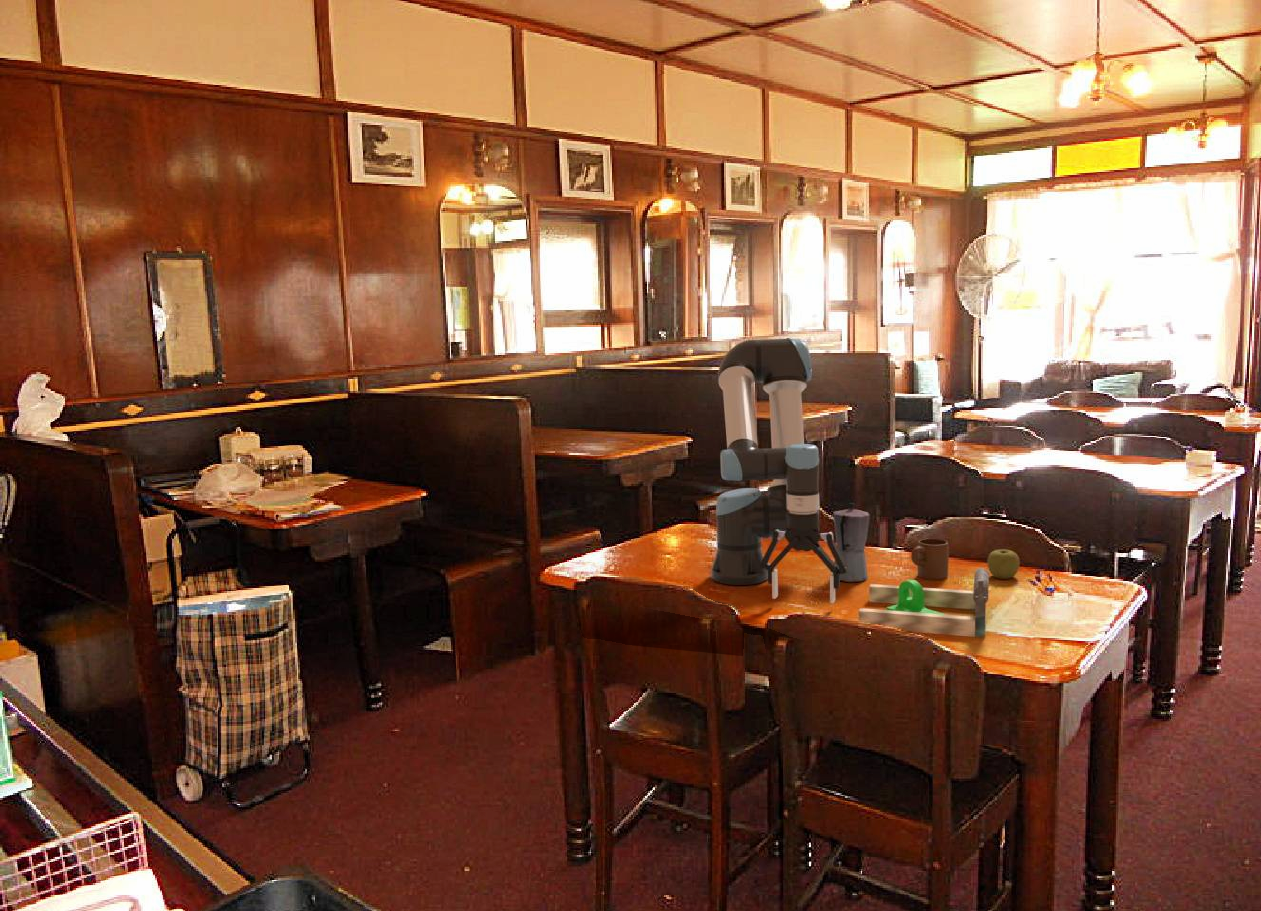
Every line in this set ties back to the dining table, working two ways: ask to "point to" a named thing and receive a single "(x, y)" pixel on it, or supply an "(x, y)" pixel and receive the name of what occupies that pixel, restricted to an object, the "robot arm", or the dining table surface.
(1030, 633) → the dining table surface
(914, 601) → the mechanical part
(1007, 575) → the apple
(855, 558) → the moka pot
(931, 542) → the mug
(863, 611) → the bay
